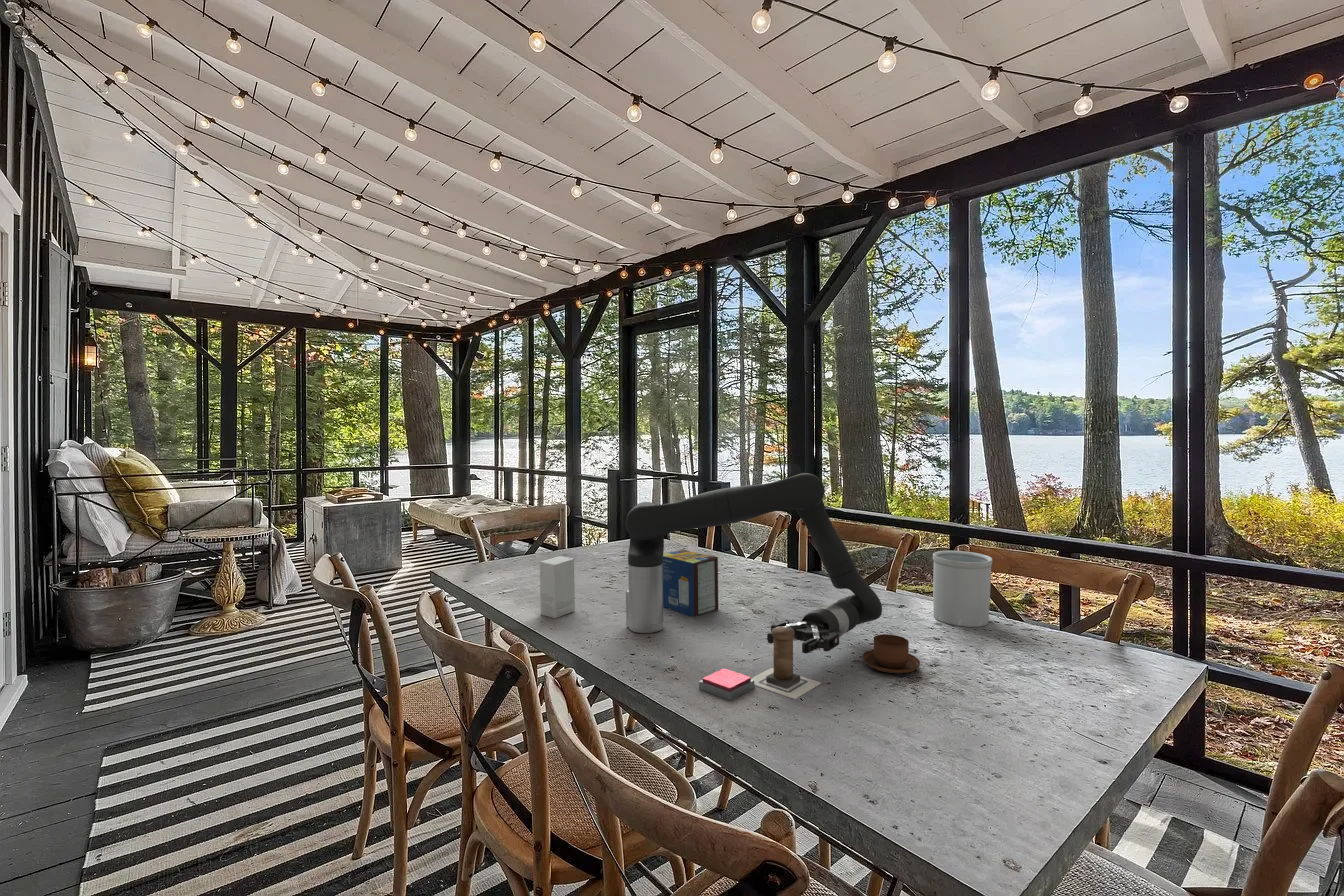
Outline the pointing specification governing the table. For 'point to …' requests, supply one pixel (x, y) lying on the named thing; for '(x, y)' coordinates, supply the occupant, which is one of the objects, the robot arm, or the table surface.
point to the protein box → (690, 582)
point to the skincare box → (557, 586)
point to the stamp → (783, 658)
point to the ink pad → (726, 684)
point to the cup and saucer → (891, 655)
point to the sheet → (791, 692)
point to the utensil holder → (961, 588)
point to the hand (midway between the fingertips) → (785, 643)
